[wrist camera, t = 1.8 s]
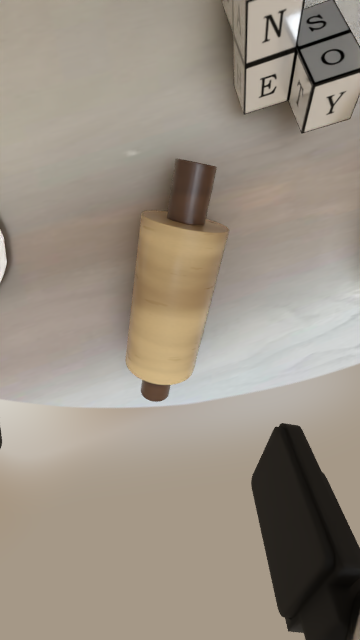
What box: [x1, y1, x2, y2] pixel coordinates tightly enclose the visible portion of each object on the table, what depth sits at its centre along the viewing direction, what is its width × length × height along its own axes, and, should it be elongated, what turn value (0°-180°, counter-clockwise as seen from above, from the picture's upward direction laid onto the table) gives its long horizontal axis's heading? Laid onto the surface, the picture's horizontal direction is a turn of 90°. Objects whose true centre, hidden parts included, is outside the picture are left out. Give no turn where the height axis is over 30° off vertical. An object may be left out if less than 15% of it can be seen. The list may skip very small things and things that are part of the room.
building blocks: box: [222, 0, 360, 133], centre depth 15 cm, size 5×5×8 cm
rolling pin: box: [126, 159, 229, 401], centre depth 22 cm, size 19×6×6 cm, turn 170°
